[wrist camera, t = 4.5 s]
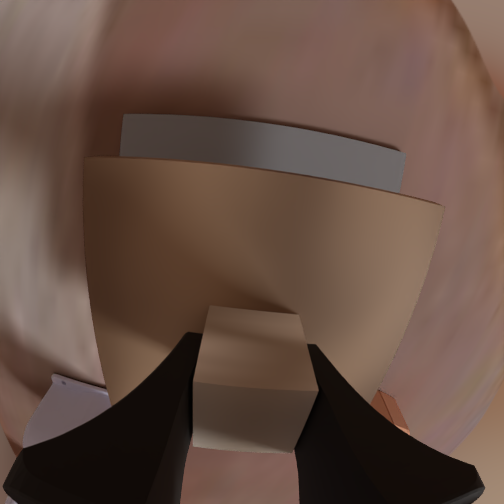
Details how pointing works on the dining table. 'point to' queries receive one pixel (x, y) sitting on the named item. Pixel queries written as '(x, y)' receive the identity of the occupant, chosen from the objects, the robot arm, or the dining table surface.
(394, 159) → the mat
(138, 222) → the square tan board
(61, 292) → the dining table surface
